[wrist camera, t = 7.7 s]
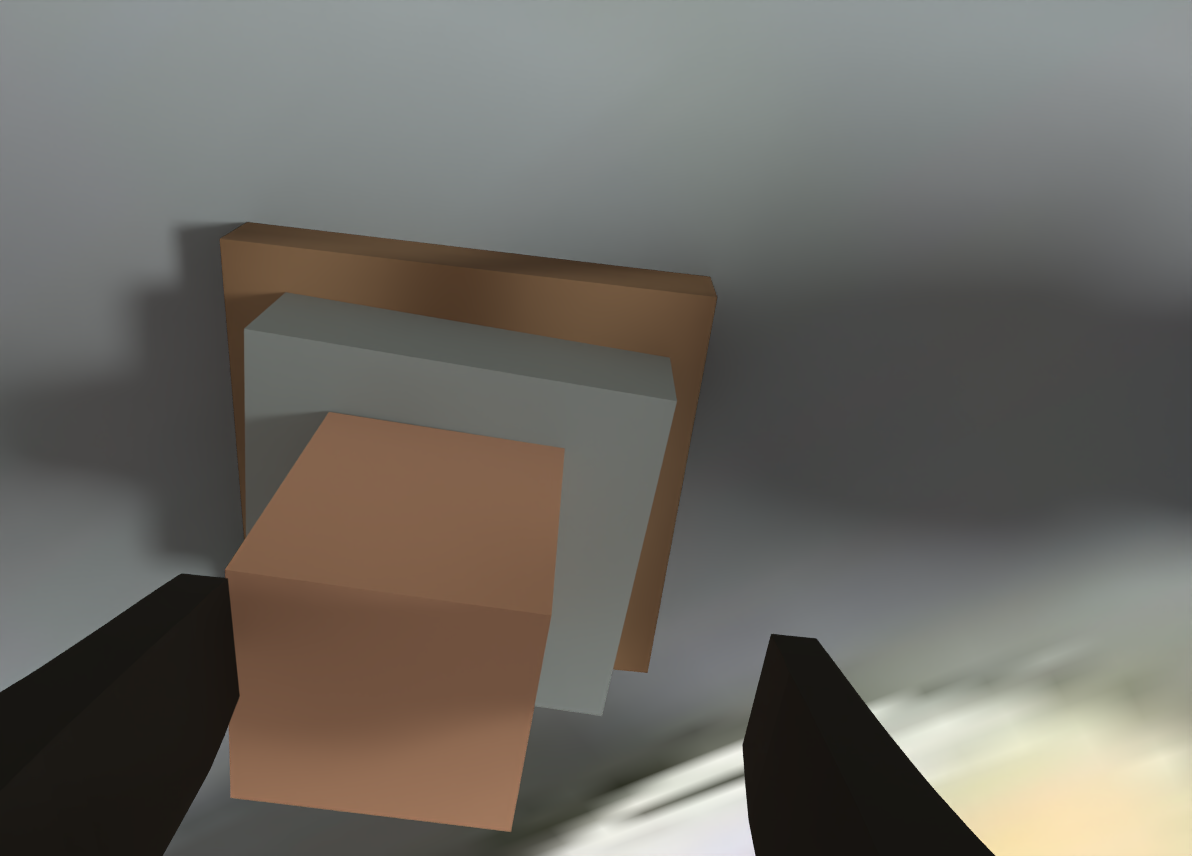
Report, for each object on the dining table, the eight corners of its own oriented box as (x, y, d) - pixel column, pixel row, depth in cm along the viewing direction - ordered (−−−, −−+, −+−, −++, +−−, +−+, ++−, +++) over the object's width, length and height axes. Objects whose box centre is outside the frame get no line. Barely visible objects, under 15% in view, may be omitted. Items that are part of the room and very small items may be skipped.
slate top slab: (669, 357, 18) (676, 401, 16) (603, 650, 21) (601, 715, 19) (285, 292, 17) (243, 328, 15) (281, 602, 21) (247, 664, 19)
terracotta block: (564, 448, 16) (551, 615, 12) (532, 629, 18) (510, 831, 14) (329, 412, 16) (224, 569, 12) (322, 600, 18) (231, 797, 14)
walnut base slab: (706, 267, 19) (717, 297, 17) (644, 617, 24) (647, 672, 22) (260, 214, 19) (219, 238, 17) (281, 579, 23) (251, 632, 21)
